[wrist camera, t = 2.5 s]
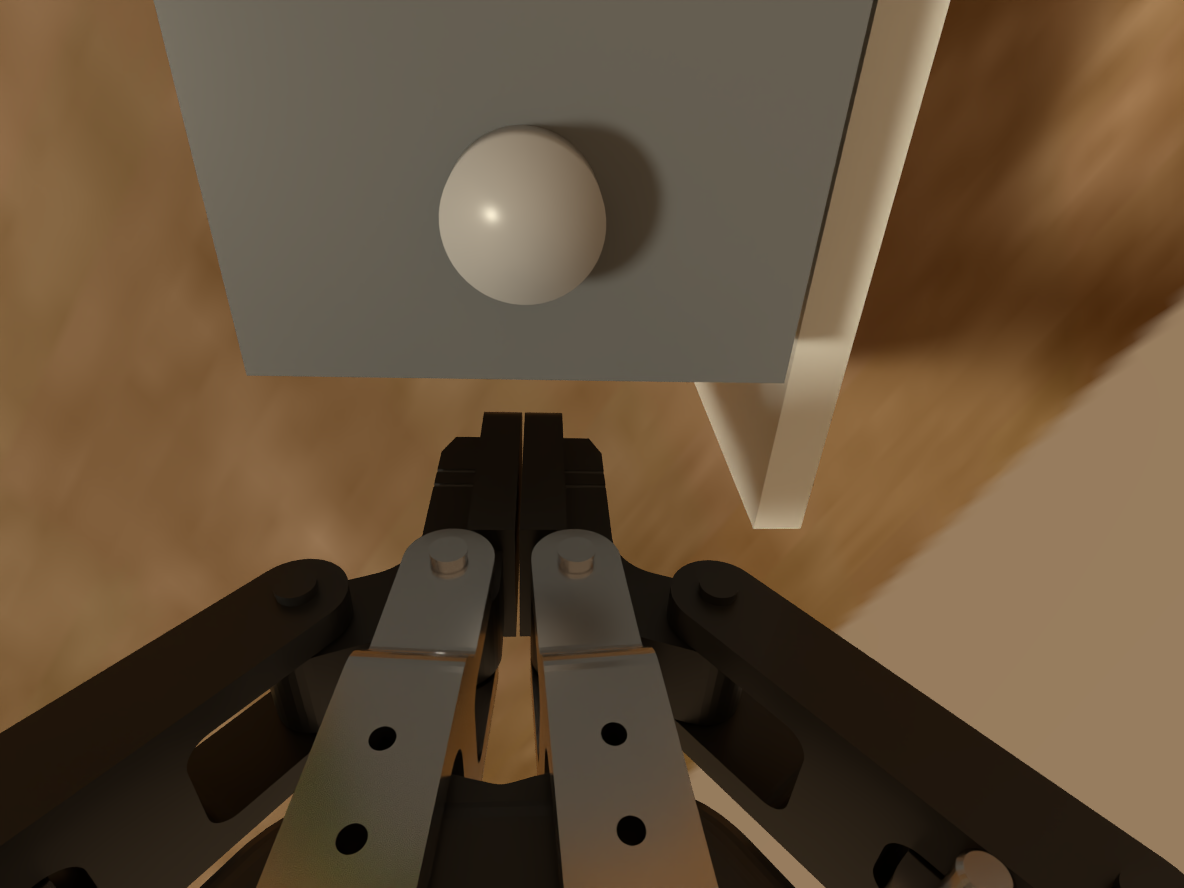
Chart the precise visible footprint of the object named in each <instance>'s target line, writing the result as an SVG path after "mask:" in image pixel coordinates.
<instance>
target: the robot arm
mask: <svg viewBox="0 0 1184 888" xmlns="http://www.w3.org/2000/svg"><path fill="white" fill-rule="evenodd" d="M603 472H604V470H603V462H602V454H601V453H600V451H599V450H598V449H597V448H596V447H595V445H594V444H593V443H592V442H591V441H590V439H580V438H563V422H562V413H526V412H525V423H524V444H523V464H522V413H518V412H484V416H483V423H482V430H481V436H480V437H456V438H455V439H454V440H453V441H452V442H451V443H450V444H449V445H448V446H447V447H446V448H445V449H444V450H443V451H442V452H441V457H440V461H439V465H438V473H437V474H436V478H435V483H434V487H433V491H432V496H431V500H430V504H429V509H428V513H427V517H426V522H425V526H424V531H423V535H422V537H420V538H418V539H417V540H415V541H414V542H413V543H412V544H411V545H410V546H409V547H408V548H407V550H406V551H405V553H404V556H403V558H402V561H401V563H400V564H399V565H397V566H395V567H393V568H391V569H388V570H386V571H383V572H380V573H376V574H372V575H368V576H364V577H359V578H355V579H351V580H348V578H347V576H346V574H345V572H344V571H343V570H342V569H341V568H340V567H339V566H337V565H335V564H333V563H331V562H328V561H325V560H319V559H302V560H296V561H291V562H288V563H284V564H282V565H279V566H277V567H275V568H273V569H271V570H269V571H267V572H265V573H264V574H262V575H260V576H259V577H257V578H256V579H254V580H252V581H251V582H249V583H247V584H246V585H244V586H242V587H241V588H239V589H237V590H236V591H234V592H232V593H231V594H229V595H227V596H226V597H224V598H223V599H221V600H219V601H218V602H216V603H214V604H213V605H211V606H209V607H208V608H206V609H204V610H203V611H201V612H199V613H198V614H196V615H195V616H193V617H191V618H190V619H188V620H186V621H185V622H183V623H181V624H180V625H178V626H176V627H175V628H173V629H171V630H170V631H168V632H167V633H165V634H163V635H162V636H160V637H158V638H157V639H155V640H153V641H152V642H150V643H148V644H147V645H145V646H143V647H142V648H140V649H138V650H137V651H135V652H134V653H132V654H130V655H129V656H127V657H125V658H124V659H122V660H120V661H119V662H117V663H115V664H114V665H112V666H110V667H109V668H107V669H106V670H104V671H102V672H101V673H99V674H97V675H96V676H94V677H92V678H91V679H89V680H87V681H86V682H84V683H82V684H81V685H79V686H77V687H76V688H74V689H73V690H71V691H69V692H68V693H66V694H64V695H63V696H61V697H59V698H58V699H56V700H54V701H53V702H51V703H49V704H48V705H46V706H45V707H43V708H41V709H40V710H38V711H36V712H35V713H33V714H31V715H30V716H28V717H26V718H25V719H23V720H21V721H20V722H18V723H16V724H15V725H13V726H12V727H10V728H8V729H7V730H5V731H3V732H2V733H0V888H187V887H188V886H189V885H190V884H191V883H192V882H194V881H195V880H196V879H197V878H198V877H199V876H200V875H201V874H203V873H204V872H205V871H206V870H207V869H208V868H209V867H211V866H212V865H213V864H214V863H215V862H216V861H217V860H218V859H220V858H221V857H222V856H223V855H224V854H225V853H226V852H227V851H229V850H230V849H231V848H232V847H233V846H234V845H235V844H236V843H238V842H239V841H240V840H241V839H242V838H243V837H244V836H245V835H247V834H248V833H249V832H250V831H251V830H252V829H253V828H255V827H256V826H257V825H258V824H259V823H260V822H261V821H262V820H264V819H265V818H266V817H267V816H268V815H269V814H270V813H271V812H273V811H274V810H275V809H276V808H277V807H278V806H279V805H280V804H282V803H283V802H284V801H285V800H286V799H287V798H288V797H290V796H291V795H292V794H293V793H294V794H293V796H292V799H291V801H290V804H289V806H288V809H287V811H286V814H285V816H284V818H282V819H281V820H279V821H278V822H276V823H274V824H273V825H271V826H270V827H268V828H266V829H265V830H264V831H263V832H261V833H260V834H259V835H257V836H256V837H255V838H253V839H252V840H251V841H250V842H248V843H247V844H246V845H245V846H244V847H243V848H241V849H240V850H239V851H238V852H237V853H236V854H235V855H234V856H233V857H232V858H231V859H229V860H228V861H227V862H226V863H225V864H224V865H223V866H222V867H221V868H220V869H219V870H218V871H217V872H216V873H215V874H214V875H213V876H211V877H210V878H209V879H208V880H207V881H206V882H205V883H204V884H203V885H202V886H201V887H200V888H795V887H794V886H793V885H792V884H791V883H790V882H789V881H788V880H787V879H786V878H785V877H784V876H783V874H782V873H781V872H780V871H779V870H778V869H777V868H776V867H775V866H774V865H773V864H772V863H771V862H770V861H769V860H768V859H767V858H766V857H765V856H764V855H763V854H762V853H761V852H760V850H759V849H758V848H757V847H756V846H755V845H754V844H753V843H752V842H751V841H750V840H749V839H748V838H747V837H746V836H745V835H744V834H743V833H742V832H741V831H740V830H739V829H738V828H736V827H735V826H734V825H733V824H731V823H730V822H729V821H728V820H727V819H725V818H724V817H723V816H722V815H720V814H719V813H717V812H716V811H714V810H713V809H711V808H710V807H708V806H706V805H705V804H703V803H701V802H699V801H697V800H695V797H694V794H693V790H692V786H691V782H690V778H689V775H688V771H687V767H686V763H685V759H684V756H683V752H684V753H685V754H686V755H687V756H688V757H690V758H691V759H692V760H693V761H694V762H695V763H696V764H697V765H698V766H699V767H700V768H701V769H702V770H703V771H704V772H705V773H706V774H707V775H708V776H709V777H710V778H712V779H713V780H714V781H715V782H716V783H717V784H718V785H719V786H720V787H721V788H722V789H723V790H724V791H725V792H726V793H727V794H728V795H730V796H731V798H732V799H734V800H735V801H736V802H737V803H738V804H739V805H740V806H741V807H742V808H743V809H744V810H745V811H746V812H747V813H748V814H749V815H750V816H752V818H754V820H756V821H757V822H758V823H759V824H760V825H761V826H762V827H763V828H764V829H765V830H766V831H767V832H768V833H769V834H770V835H771V836H772V837H773V838H774V839H776V841H777V842H779V843H780V844H781V845H782V846H783V847H784V848H785V849H786V850H787V851H788V852H789V853H790V854H791V855H792V856H793V857H794V858H795V859H796V860H797V861H798V862H799V863H801V864H802V865H803V866H804V867H805V868H806V869H807V870H808V871H809V872H810V873H811V874H812V875H813V876H814V877H815V878H816V879H817V880H818V881H819V882H820V883H821V884H823V885H824V886H825V887H826V888H1184V874H1183V873H1181V872H1180V871H1179V870H1178V869H1177V868H1176V867H1174V866H1173V865H1172V864H1170V863H1169V862H1167V861H1166V860H1165V859H1164V858H1162V857H1161V856H1159V855H1158V854H1156V853H1155V852H1153V851H1152V850H1150V849H1149V848H1147V847H1146V846H1144V845H1143V844H1142V843H1140V842H1139V841H1137V840H1136V839H1134V838H1133V837H1131V836H1130V835H1129V834H1127V833H1126V832H1124V831H1123V830H1121V829H1120V828H1118V827H1117V826H1115V825H1114V824H1113V823H1111V822H1110V821H1108V820H1107V819H1105V818H1104V817H1102V816H1101V815H1099V814H1098V813H1096V812H1095V811H1094V810H1092V809H1091V808H1089V807H1088V806H1086V805H1085V804H1083V803H1082V802H1080V801H1079V800H1078V799H1076V798H1075V797H1073V796H1072V795H1070V794H1069V793H1067V792H1066V791H1064V790H1063V789H1062V788H1060V787H1058V786H1057V785H1056V784H1054V783H1053V782H1051V781H1050V780H1048V779H1047V778H1046V777H1044V776H1042V775H1041V774H1040V773H1038V772H1037V771H1035V770H1034V769H1032V768H1031V767H1030V766H1028V765H1026V764H1025V763H1024V762H1022V761H1020V760H1019V759H1018V758H1016V757H1015V756H1013V755H1012V754H1010V753H1009V752H1008V751H1006V750H1005V749H1003V748H1002V747H1000V746H999V745H997V744H996V743H994V742H993V741H992V740H990V739H989V738H987V737H986V736H984V735H983V734H981V733H980V732H979V731H977V730H976V729H974V728H973V727H971V726H970V725H968V724H967V723H965V722H964V721H962V720H961V719H959V718H958V717H956V716H955V715H954V714H952V713H951V712H949V711H948V710H946V709H945V708H944V707H942V706H941V705H939V704H938V703H936V702H935V701H933V700H932V699H930V698H929V697H928V696H926V695H925V694H923V693H922V692H920V691H919V690H917V689H916V688H914V687H913V686H912V685H910V684H909V683H907V682H906V681H904V680H903V679H901V678H900V677H898V676H897V675H895V674H894V673H892V672H891V671H890V670H888V669H886V668H885V667H884V666H882V665H881V664H880V663H878V662H877V661H875V660H874V659H872V658H871V657H869V656H868V655H866V654H865V653H864V652H862V651H861V650H859V649H858V648H856V647H855V646H853V645H852V644H850V643H849V642H847V641H846V640H845V639H843V638H842V637H840V636H839V635H837V634H836V633H834V632H833V631H831V630H830V629H829V628H827V627H826V626H824V625H823V624H821V623H820V622H818V621H817V620H815V619H814V618H813V617H811V616H810V615H808V614H807V613H805V612H804V611H802V610H801V609H799V608H798V607H797V606H795V605H794V604H792V603H791V602H789V601H788V600H786V599H785V598H783V597H782V596H780V595H779V594H778V593H776V592H775V591H773V590H772V589H770V588H769V587H767V586H766V585H764V584H763V583H762V582H760V581H759V580H757V579H756V578H754V577H753V576H751V575H750V574H748V573H747V572H745V571H744V570H742V569H740V568H738V567H736V566H734V565H731V564H728V563H725V562H720V561H711V560H706V561H697V562H693V563H690V564H687V565H685V566H683V567H682V568H681V569H679V570H678V571H677V572H676V574H675V575H674V577H673V578H670V577H666V576H662V575H658V574H654V573H651V572H647V571H644V570H642V569H639V568H637V567H635V566H634V565H632V564H630V563H629V562H628V561H626V560H625V559H624V558H623V557H622V556H621V555H620V554H619V551H618V549H617V548H616V546H615V545H614V544H613V540H612V534H611V526H610V518H609V510H608V502H607V494H606V488H605V478H604V474H603ZM519 560H520V636H531V693H532V707H533V722H534V736H535V750H536V764H537V776H534V777H530V778H527V779H523V780H520V781H516V782H512V783H508V784H492V783H487V782H483V781H482V778H483V771H484V765H485V758H486V752H487V746H488V740H489V733H490V727H491V721H492V715H493V708H494V702H495V696H496V690H497V684H498V674H499V673H498V666H499V664H500V661H501V657H502V645H503V637H516V625H517V603H518V581H519ZM268 689H270V690H271V692H269V693H268V694H267V695H265V696H264V697H263V698H261V699H260V700H259V701H257V702H256V703H255V704H253V705H252V706H251V707H249V708H248V709H247V710H245V711H244V712H243V713H241V714H240V715H238V716H237V717H236V718H234V719H233V720H232V721H230V722H229V723H228V724H226V725H225V726H224V727H222V728H221V729H220V730H218V731H217V732H216V733H214V734H213V735H212V736H210V737H209V738H208V739H206V740H205V741H204V742H202V743H201V744H200V745H198V743H199V742H200V741H201V740H202V739H203V738H204V737H205V736H207V735H208V734H209V733H210V732H212V731H213V730H214V729H216V728H217V727H218V726H220V725H221V724H222V723H224V722H225V721H227V720H228V719H229V718H231V717H232V716H233V715H235V714H236V713H237V712H239V711H240V710H241V709H243V708H244V707H245V706H247V705H248V704H249V703H251V702H252V701H253V700H255V699H256V698H258V697H259V696H260V695H262V694H263V693H264V692H266V691H267V690H268ZM197 745H198V746H197ZM196 746H197V747H196ZM195 747H196V748H195ZM682 751H683V752H682Z"/></svg>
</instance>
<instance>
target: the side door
mask: <svg viewBox="0 0 1184 888" xmlns="http://www.w3.org/2000/svg"><path fill="white" fill-rule="evenodd" d="M949 4H950V0H873V3H872V8H871V12H870V16H869V21H868V25H867V29H866V34H865V38H864V42H863V47H862V51H861V55H860V59H859V64H858V68H857V72H856V77H855V81H854V85H853V90H852V94H851V98H850V102H849V107H848V111H847V115H846V120H845V124H844V128H843V133H842V137H841V141H840V145H839V150H838V154H837V158H836V163H835V167H834V171H833V176H832V180H831V184H830V188H829V193H828V197H827V201H826V206H825V210H824V214H823V219H822V223H821V227H820V232H819V236H818V240H817V244H816V249H815V253H814V257H813V262H812V266H811V270H810V275H809V279H808V283H807V287H806V292H805V296H804V300H803V305H802V309H801V313H800V318H799V322H798V326H797V330H796V335H795V339H794V343H793V348H792V352H791V356H790V361H789V365H788V369H787V373H786V378H785V382H784V383H723V382H694V383H695V386H696V388H697V391H698V393H699V395H700V398H701V400H702V403H703V405H704V408H705V410H706V413H707V415H708V418H709V420H710V423H711V425H712V428H713V430H714V432H715V435H716V437H717V440H718V442H719V445H720V447H721V450H722V452H723V455H724V457H725V460H726V462H727V465H728V467H729V469H730V472H731V474H732V477H733V479H734V482H735V484H736V487H737V489H738V492H739V494H740V497H741V499H742V502H743V504H744V506H745V509H746V511H747V514H748V516H749V519H750V521H751V524H752V526H753V529H800V528H801V525H802V521H803V518H804V514H805V511H806V507H807V504H808V500H809V497H810V493H811V490H812V486H813V482H814V479H815V475H816V472H817V468H818V465H819V461H820V458H821V454H822V451H823V447H824V444H825V440H826V437H827V433H828V430H829V426H830V423H831V419H832V416H833V412H834V409H835V405H836V402H837V398H838V394H839V391H840V387H841V384H842V380H843V377H844V373H845V370H846V366H847V363H848V359H849V356H850V352H851V349H852V345H853V342H854V338H855V335H856V331H857V328H858V324H859V321H860V317H861V313H862V310H863V306H864V303H865V299H866V296H867V292H868V289H869V285H870V282H871V278H872V275H873V271H874V268H875V264H876V261H877V257H878V254H879V250H880V247H881V243H882V240H883V236H884V233H885V229H886V225H887V222H888V218H889V215H890V211H891V208H892V204H893V201H894V197H895V194H896V190H897V187H898V183H899V180H900V176H901V173H902V169H903V166H904V162H905V159H906V155H907V152H908V148H909V144H910V141H911V137H912V134H913V130H914V127H915V123H916V120H917V116H918V113H919V109H920V106H921V102H922V99H923V95H924V92H925V88H926V85H927V81H928V78H929V74H930V71H931V67H932V64H933V60H934V56H935V53H936V49H937V46H938V42H939V39H940V35H941V32H942V28H943V25H944V21H945V18H946V14H947V11H948V7H949Z"/></svg>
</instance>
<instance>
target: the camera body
mask: <svg viewBox="0 0 1184 888" xmlns="http://www.w3.org/2000/svg"><path fill="white" fill-rule="evenodd" d="M872 3H873V0H154V4H155V8H156V12H157V16H158V20H159V24H160V28H161V32H162V36H163V40H164V44H165V48H166V52H167V56H168V60H169V64H170V68H171V72H172V76H173V80H174V85H175V89H176V93H177V97H178V101H179V105H180V109H181V113H182V117H183V121H184V125H185V129H186V133H187V137H188V141H189V145H190V149H191V153H192V157H193V161H194V165H195V169H196V173H197V177H198V181H199V185H200V189H201V193H202V197H203V201H204V205H205V209H206V213H207V217H208V221H209V225H210V229H211V233H212V237H213V241H214V245H215V249H216V253H217V257H218V262H219V266H220V270H221V274H222V278H223V282H224V286H225V290H226V294H227V298H228V302H229V306H230V310H231V314H232V318H233V322H234V326H235V330H236V334H237V338H238V342H239V346H240V350H241V354H242V358H243V362H244V366H245V370H246V374H247V375H253V376H320V377H387V378H454V379H521V380H589V381H656V382H723V383H784V382H785V378H786V373H787V369H788V365H789V361H790V356H791V352H792V348H793V343H794V339H795V335H796V330H797V326H798V322H799V318H800V313H801V309H802V305H803V300H804V296H805V292H806V287H807V283H808V279H809V275H810V270H811V266H812V262H813V257H814V253H815V249H816V244H817V240H818V236H819V232H820V227H821V223H822V219H823V214H824V210H825V206H826V201H827V197H828V193H829V188H830V184H831V180H832V176H833V171H834V167H835V163H836V158H837V154H838V150H839V145H840V141H841V137H842V133H843V128H844V124H845V120H846V115H847V111H848V107H849V102H850V98H851V94H852V90H853V85H854V81H855V77H856V72H857V68H858V64H859V59H860V55H861V51H862V47H863V42H864V38H865V34H866V29H867V25H868V21H869V16H870V12H871V8H872Z"/></svg>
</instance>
